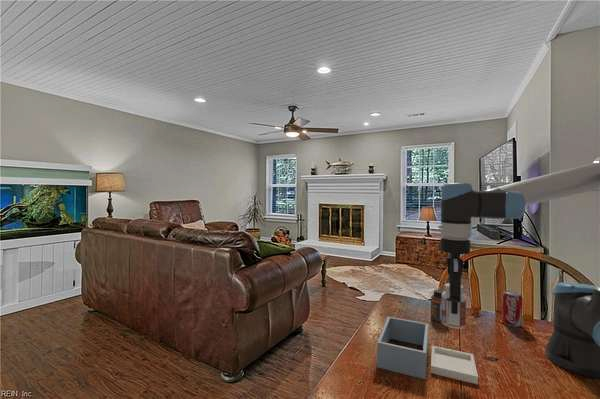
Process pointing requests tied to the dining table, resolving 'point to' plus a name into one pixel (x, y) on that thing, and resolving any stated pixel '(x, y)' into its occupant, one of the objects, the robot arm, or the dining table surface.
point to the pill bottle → (446, 307)
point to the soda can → (512, 308)
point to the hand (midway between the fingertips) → (453, 319)
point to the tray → (454, 364)
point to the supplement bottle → (436, 305)
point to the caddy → (402, 356)
